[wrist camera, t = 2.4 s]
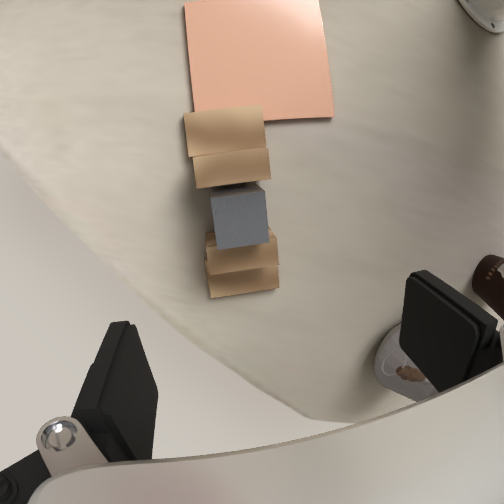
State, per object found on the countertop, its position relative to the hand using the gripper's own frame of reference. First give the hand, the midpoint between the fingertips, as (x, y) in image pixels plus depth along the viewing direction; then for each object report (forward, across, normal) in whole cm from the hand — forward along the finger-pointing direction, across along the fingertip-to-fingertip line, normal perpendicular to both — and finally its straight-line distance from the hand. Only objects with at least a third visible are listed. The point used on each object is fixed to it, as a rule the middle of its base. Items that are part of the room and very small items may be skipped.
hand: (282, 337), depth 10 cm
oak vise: (+22, 0, 0) cm, 22 cm away
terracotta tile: (+22, -4, -14) cm, 26 cm away
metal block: (+22, 0, 0) cm, 22 cm away
